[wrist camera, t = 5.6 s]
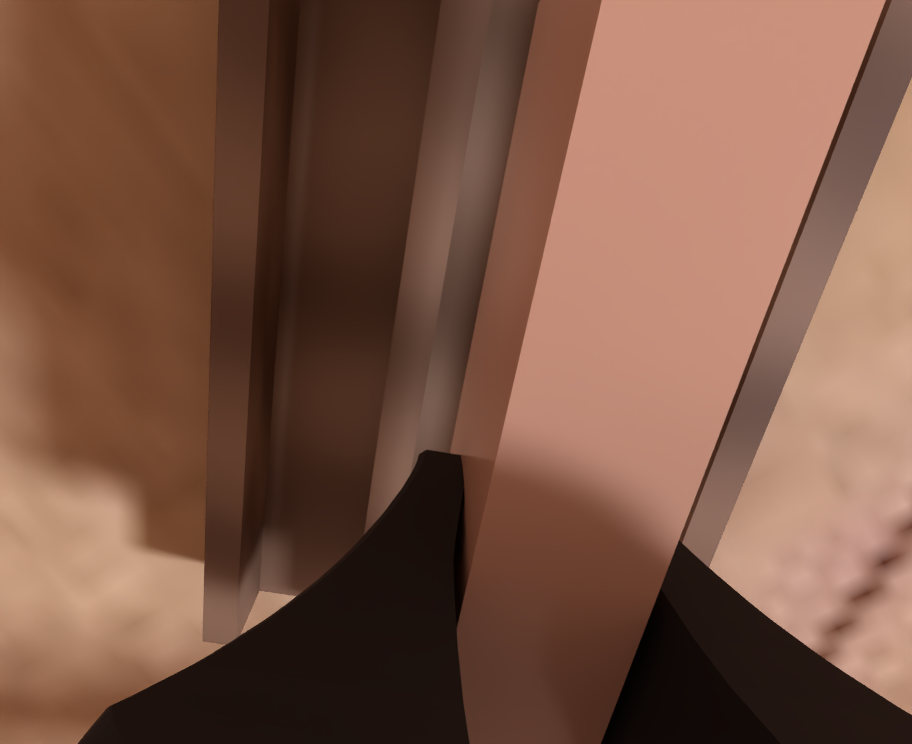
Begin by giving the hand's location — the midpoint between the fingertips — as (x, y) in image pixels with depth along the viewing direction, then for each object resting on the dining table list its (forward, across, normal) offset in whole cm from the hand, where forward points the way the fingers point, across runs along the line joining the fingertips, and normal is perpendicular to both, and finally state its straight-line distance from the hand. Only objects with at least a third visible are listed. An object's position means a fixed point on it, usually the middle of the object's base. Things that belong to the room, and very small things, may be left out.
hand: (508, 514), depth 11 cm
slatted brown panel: (+9, 0, 0) cm, 9 cm away
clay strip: (+2, 0, 0) cm, 2 cm away
